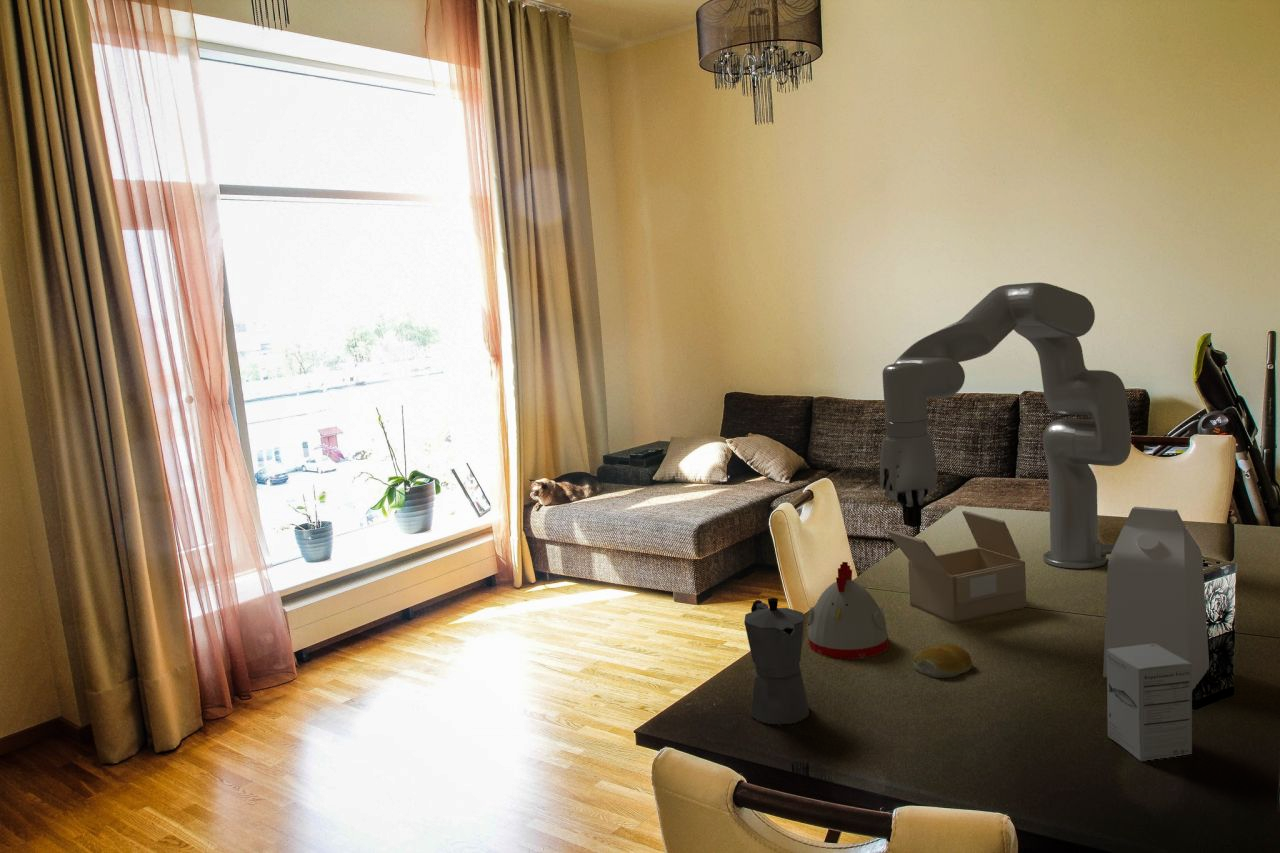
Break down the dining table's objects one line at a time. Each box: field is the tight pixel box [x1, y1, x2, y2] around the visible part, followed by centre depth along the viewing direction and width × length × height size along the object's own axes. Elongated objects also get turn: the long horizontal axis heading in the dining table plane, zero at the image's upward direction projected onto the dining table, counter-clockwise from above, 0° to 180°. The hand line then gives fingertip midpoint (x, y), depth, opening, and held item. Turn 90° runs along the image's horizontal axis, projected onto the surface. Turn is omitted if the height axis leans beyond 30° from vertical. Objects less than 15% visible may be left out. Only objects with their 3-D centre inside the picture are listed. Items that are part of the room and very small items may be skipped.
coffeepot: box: [744, 597, 810, 726], centre depth 142 cm, size 15×9×18 cm, turn 13°
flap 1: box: [885, 528, 949, 575], centre depth 177 cm, size 1×11×9 cm
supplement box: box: [1106, 644, 1193, 762], centre depth 122 cm, size 7×7×13 cm
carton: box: [907, 546, 1027, 625], centre depth 181 cm, size 17×14×9 cm
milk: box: [1102, 506, 1210, 692], centre depth 144 cm, size 12×12×26 cm
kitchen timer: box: [808, 561, 889, 659], centre depth 166 cm, size 14×14×15 cm
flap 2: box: [961, 510, 1022, 560], centre depth 182 cm, size 1×11×9 cm, turn 21°
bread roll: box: [912, 643, 973, 679], centre depth 153 cm, size 8×9×4 cm
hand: (912, 525), depth 176 cm, fingers closed
